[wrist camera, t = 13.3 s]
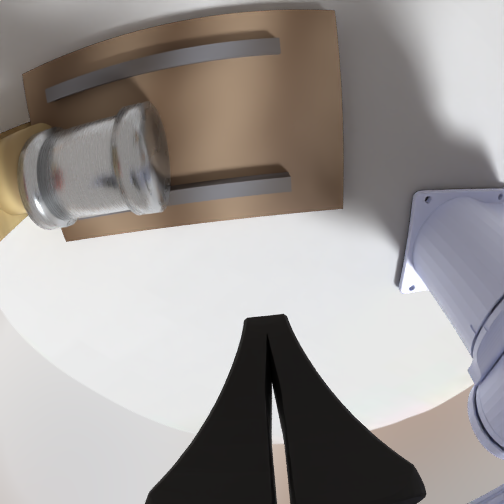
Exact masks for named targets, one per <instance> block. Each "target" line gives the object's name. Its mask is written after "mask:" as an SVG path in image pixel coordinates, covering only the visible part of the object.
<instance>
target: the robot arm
mask: <svg viewBox="0 0 504 504" xmlns="http://www.w3.org/2000/svg"><path fill="white" fill-rule="evenodd" d="M499 194H500V195H499ZM427 196H429V198H428V200H427V201H425V198H426V197H427ZM498 196H499V197H498ZM410 286H411V287H410ZM399 290H400V292H401V293H402V294H407V293H413V292H418V291H424V290H429V291H430V292H431V294H432V295H433V297H434V298H435V300H436V301H437V303H438V304H439V306H440V307H441V309H442V310H443V312H444V313H445V315H446V316H447V318H448V319H449V321H450V322H451V324H452V325H453V327H454V329H455V330H456V332H457V333H458V335H459V337H460V338H461V340H462V341H463V343H464V345H465V346H466V348H467V350H468V351H469V353H470V355H471V357H472V358H473V361H472V364H471V366H470V367H469V369H468V372H469V374H470V376H471V378H472V380H473V382H474V384H475V385H474V386H473V388H472V390H471V391H470V394H469V398H468V415H469V420H470V423H471V426H472V429H473V431H474V433H475V435H476V437H477V438H478V440H479V441H480V443H481V444H482V445H483V446H484V448H486V449H487V450H488V451H489V452H490V453H491V454H493V455H494V456H496V457H498V458H500V459H503V460H504V188H499V189H451V190H424V191H417V192H416V193H415V194H414V196H413V202H412V210H411V218H410V225H409V232H408V239H407V245H406V251H405V257H404V263H403V268H402V273H401V278H400V283H399ZM272 384H273V389H274V394H275V399H276V404H277V409H278V414H279V418H280V423H281V428H282V433H283V439H284V445H285V454H286V464H287V473H288V484H289V494H290V504H417V503H418V502H420V501H421V500H422V499H423V498H425V496H426V490H425V486H424V484H423V481H422V479H421V477H420V475H419V473H418V472H417V470H416V468H415V467H414V465H413V464H411V463H410V462H408V461H407V460H405V459H404V458H403V457H401V456H400V455H398V454H397V453H396V452H395V451H393V450H392V449H391V448H389V447H388V446H387V445H386V444H384V443H383V442H382V441H380V440H379V439H378V438H377V437H376V436H375V435H374V434H372V433H371V432H370V431H369V430H368V429H367V428H366V427H365V426H364V425H363V424H362V423H361V422H360V421H359V420H358V419H356V418H355V417H354V416H353V415H352V414H351V412H350V411H349V410H348V409H347V408H346V407H345V406H344V405H343V404H342V403H341V402H340V400H339V399H338V398H337V397H336V396H335V395H334V393H333V392H332V391H331V390H330V388H329V387H328V386H327V385H326V383H325V382H324V381H323V379H322V378H321V376H320V375H319V374H318V372H317V371H316V369H315V368H314V367H313V365H312V364H311V362H310V360H309V359H308V357H307V356H306V354H305V352H304V351H303V349H302V347H301V346H300V344H299V342H298V340H297V338H296V336H295V334H294V332H293V330H292V328H291V326H290V323H289V321H288V318H287V316H286V315H284V314H279V315H270V316H261V317H251V318H246V319H245V320H244V325H243V331H242V336H241V340H240V343H239V347H238V350H237V353H236V356H235V359H234V362H233V364H232V367H231V370H230V372H229V375H228V377H227V379H226V382H225V384H224V386H223V388H222V391H221V393H220V395H219V397H218V399H217V401H216V403H215V405H214V407H213V408H212V410H211V412H210V414H209V416H208V417H207V419H206V421H205V422H204V424H203V425H202V427H201V429H200V430H199V432H198V433H197V435H196V436H195V438H194V440H193V441H192V443H191V444H190V445H189V447H188V448H187V449H186V450H185V452H184V453H183V454H182V455H181V457H180V458H179V459H178V461H177V462H176V463H175V464H174V466H173V467H172V468H171V469H170V470H169V471H168V472H167V474H166V475H165V476H164V477H163V478H162V479H161V480H160V481H159V482H158V483H157V484H156V485H155V486H154V487H153V489H152V490H151V491H150V492H149V494H148V497H147V499H146V502H145V504H277V499H276V487H275V476H274V465H273V453H272ZM467 504H504V484H502V485H501V486H499V487H497V488H495V489H494V490H492V491H490V492H488V493H487V494H485V495H483V496H481V497H479V498H477V499H475V500H473V501H471V502H469V503H467Z"/></svg>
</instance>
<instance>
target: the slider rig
mask: <svg viewBox="0 0 504 504" xmlns="http://www.w3.org/2000/svg"><path fill="white" fill-rule="evenodd" d="M22 76H23V83H24V89H25V95H26V101H27V106H28V112H29V117H30V122H28V123H25V124H23V125H20V126H17V127H15V128H12V129H10V130H7V131H5V132H3V133H0V241H1V240H2V239H3V238H4V237H5V236H6V235H7V234H8V233H10V232H11V231H12V230H13V229H14V228H15V227H16V226H17V225H18V224H19V223H20V222H21V221H22V220H23V219H25V218H26V217H27V216H28V214H27V212H26V210H25V208H24V206H23V204H22V201H21V198H20V194H19V190H18V182H17V167H18V160H19V156H20V153H21V150H22V148H23V146H24V144H25V143H26V141H27V140H28V139H29V138H30V137H31V136H32V135H34V134H36V133H38V132H41V131H44V130H47V129H50V128H53V127H60V128H63V129H68V128H72V127H75V126H78V125H82V124H85V123H88V122H92V121H96V120H99V119H103V118H107V117H111V116H115V115H117V113H118V112H119V110H120V109H121V108H122V107H124V106H128V105H132V104H137V103H141V102H146V101H149V102H151V103H152V104H153V105H154V106H155V107H156V109H157V111H158V113H159V115H160V118H161V120H162V124H163V127H164V131H165V135H166V140H167V145H168V152H169V160H170V179H171V180H170V195H169V201H168V204H167V207H166V209H165V210H164V211H163V212H159V213H152V214H145V215H136V214H134V213H133V212H132V211H131V210H126V211H120V212H113V213H107V214H101V215H96V216H90V217H84V218H79V219H78V220H77V221H76V222H75V223H74V224H73V225H71V226H68V227H63V228H61V229H62V232H63V235H64V237H65V240H66V242H68V241H74V240H81V239H87V238H94V237H101V236H108V235H115V234H122V233H129V232H136V231H143V230H151V229H158V228H166V227H174V226H182V225H190V224H198V223H207V222H215V221H224V220H233V219H242V218H251V217H260V216H270V215H280V214H290V213H300V212H311V211H322V210H333V209H343V113H342V91H341V74H340V60H339V48H338V37H337V27H336V17H335V10H267V11H252V12H241V13H231V14H222V15H215V16H208V17H201V18H195V19H189V20H184V21H179V22H174V23H169V24H164V25H160V26H155V27H151V28H147V29H143V30H139V31H135V32H132V33H128V34H125V35H121V36H118V37H115V38H111V39H108V40H105V41H102V42H99V43H96V44H93V45H90V46H87V47H85V48H82V49H79V50H77V51H74V52H71V53H69V54H66V55H64V56H61V57H59V58H57V59H54V60H52V61H50V62H47V63H45V64H43V65H41V66H39V67H36V68H34V69H32V70H30V71H28V72H26V73H24V74H22Z"/></svg>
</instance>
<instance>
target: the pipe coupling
mask: <svg viewBox="0 0 504 504" xmlns="http://www.w3.org/2000/svg"><path fill="white" fill-rule="evenodd" d="M170 180H171V179H170V160H169V152H168V145H167V140H166V135H165V131H164V127H163V124H162V120H161V118H160V115H159V113H158V111H157V109H156V107H155V106H154V105H153V104H152V103H151V102H149V101H146V102H141V103H137V104H132V105H128V106H124V107H122V108H121V109H120V110H119V112H118V113H117V115H115V116H111V117H107V118H103V119H99V120H96V121H92V122H88V123H85V124H82V125H78V126H75V127H72V128H68V129H63V128H60V127H53V128H50V129H47V130H44V131H41V132H38V133H36V134H34V135H32V136H31V137H30V138H29V139H28V140H27V141H26V143H25V144H24V146H23V148H22V150H21V153H20V156H19V160H18V167H17V182H18V190H19V194H20V198H21V201H22V204H23V206H24V208H25V210H26V212H27V214H28V215H29V217H30V218H31V219H32V220H33V222H34V223H36V224H37V225H38V226H40V227H41V228H44V229H48V230H51V229H58V228H63V227H68V226H71V225H73V224H74V223H75V222H76V221H77V220H78V219H79V218H84V217H90V216H96V215H101V214H107V213H113V212H120V211H126V210H131V211H132V212H133V213H134V214H136V215H145V214H152V213H159V212H163V211H164V210H165V209H166V207H167V204H168V201H169V195H170Z"/></svg>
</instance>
